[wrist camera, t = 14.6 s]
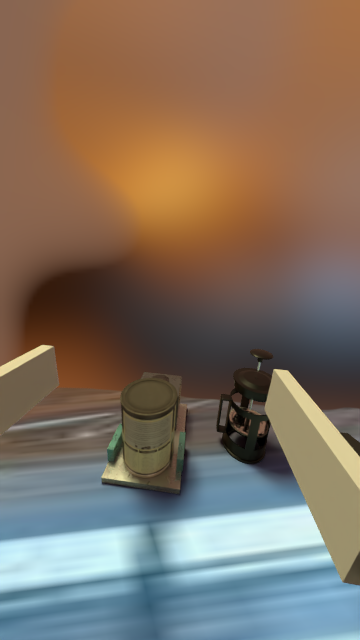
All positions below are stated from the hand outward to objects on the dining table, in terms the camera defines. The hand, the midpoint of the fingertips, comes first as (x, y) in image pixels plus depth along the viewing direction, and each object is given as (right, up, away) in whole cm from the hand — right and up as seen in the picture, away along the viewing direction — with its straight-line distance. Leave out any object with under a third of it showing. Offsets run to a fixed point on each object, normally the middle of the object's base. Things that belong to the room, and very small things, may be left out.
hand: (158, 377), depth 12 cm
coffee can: (-5, -24, +28) cm, 37 cm away
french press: (+15, -25, +33) cm, 44 cm away
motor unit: (-5, -24, +32) cm, 40 cm away
